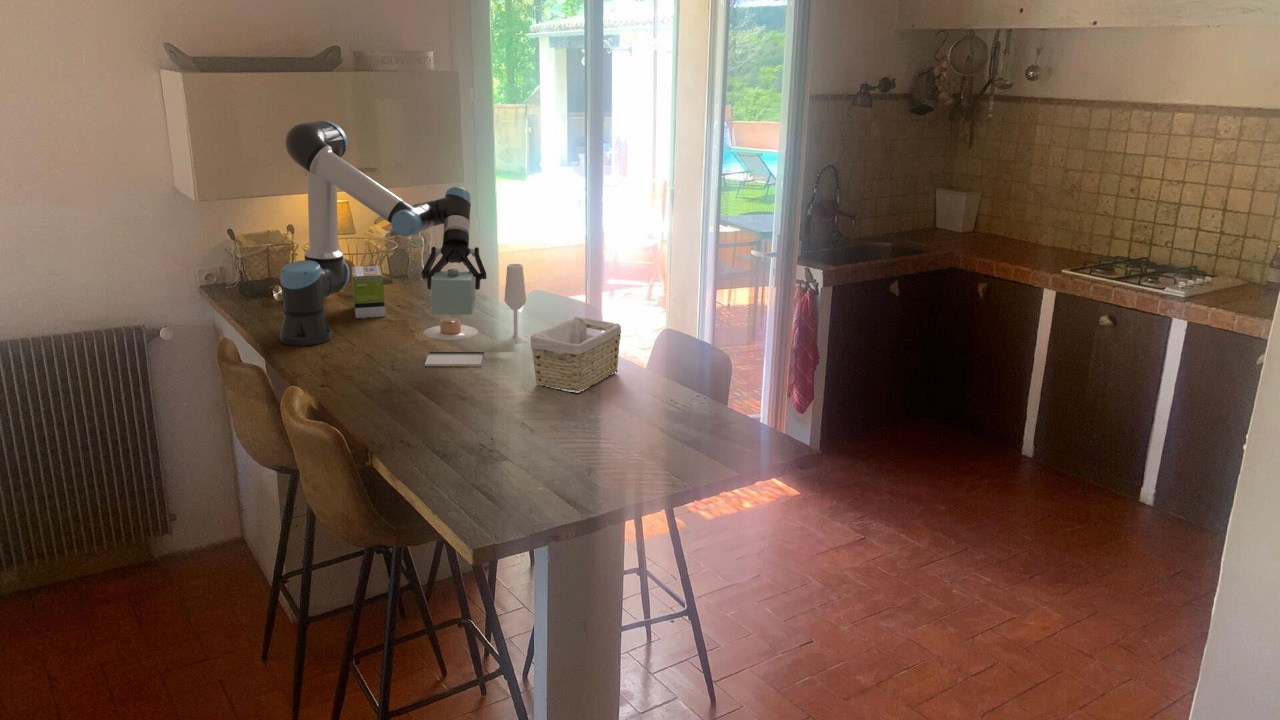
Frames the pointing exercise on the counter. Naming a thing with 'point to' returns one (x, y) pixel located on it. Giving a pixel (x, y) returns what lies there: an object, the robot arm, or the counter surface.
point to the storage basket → (575, 353)
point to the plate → (450, 337)
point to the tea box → (368, 291)
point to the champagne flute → (515, 294)
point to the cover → (452, 292)
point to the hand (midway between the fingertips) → (453, 298)
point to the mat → (454, 359)
